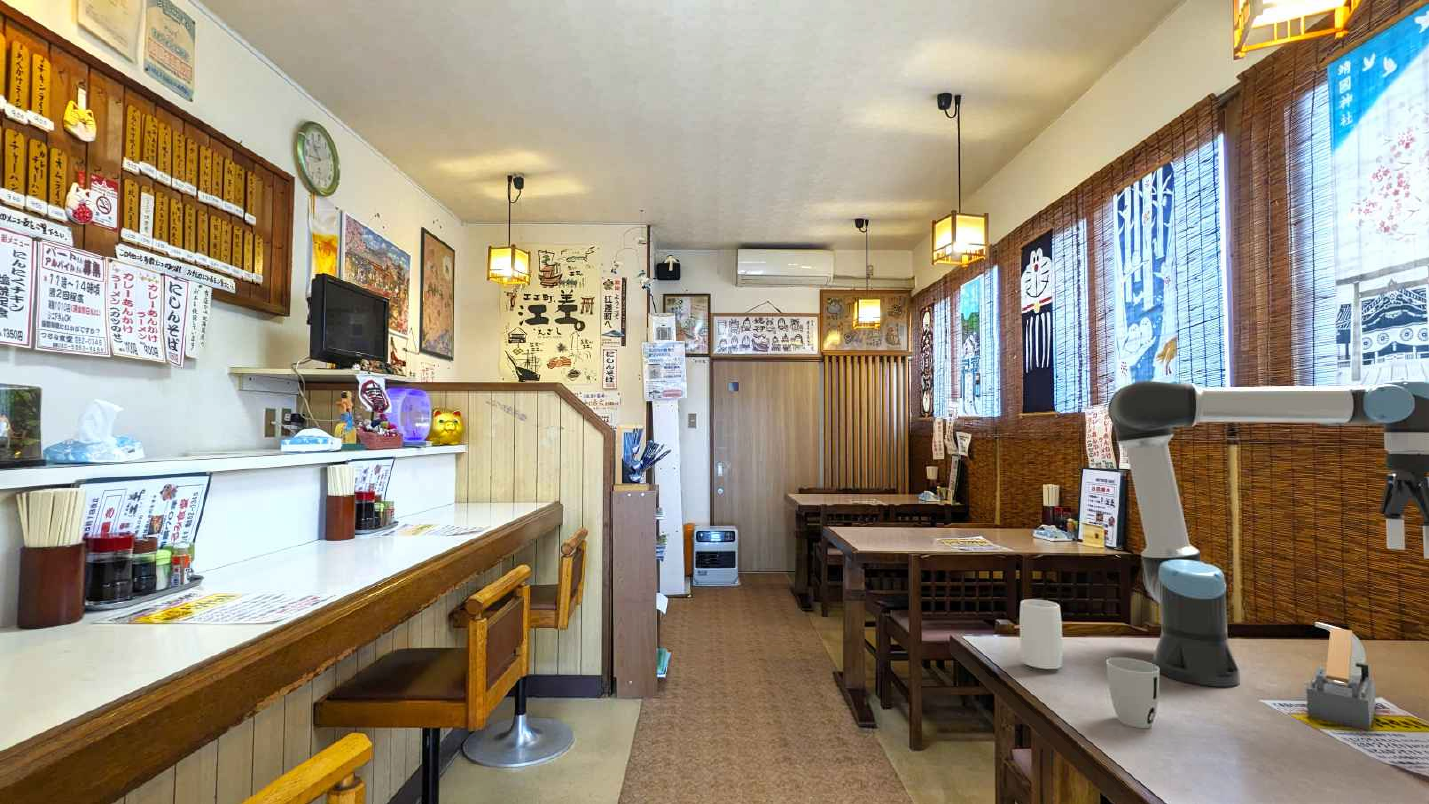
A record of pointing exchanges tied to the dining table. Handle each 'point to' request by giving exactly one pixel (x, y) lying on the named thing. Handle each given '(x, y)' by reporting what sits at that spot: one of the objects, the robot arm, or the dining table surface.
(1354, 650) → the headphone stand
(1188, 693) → the dining table surface
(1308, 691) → the block
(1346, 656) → the tan flat bar
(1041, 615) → the cup
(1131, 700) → the cup
